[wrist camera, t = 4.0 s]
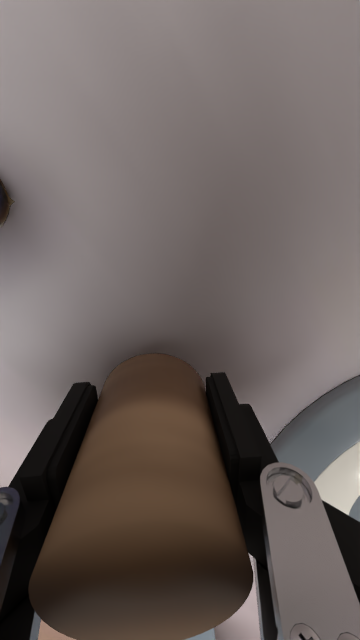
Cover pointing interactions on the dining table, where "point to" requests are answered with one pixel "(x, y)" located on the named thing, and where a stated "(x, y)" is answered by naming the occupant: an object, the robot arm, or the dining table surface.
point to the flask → (4, 204)
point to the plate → (328, 446)
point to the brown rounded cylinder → (145, 517)
